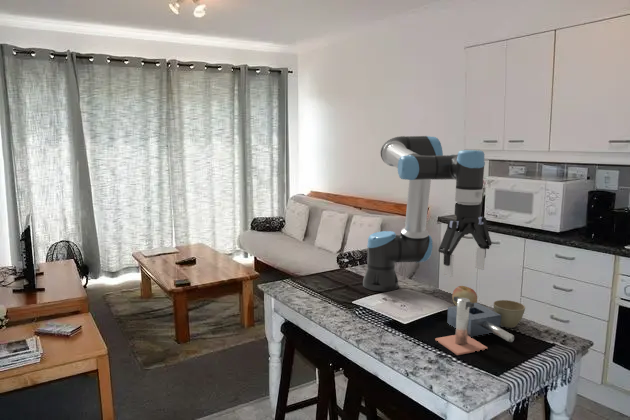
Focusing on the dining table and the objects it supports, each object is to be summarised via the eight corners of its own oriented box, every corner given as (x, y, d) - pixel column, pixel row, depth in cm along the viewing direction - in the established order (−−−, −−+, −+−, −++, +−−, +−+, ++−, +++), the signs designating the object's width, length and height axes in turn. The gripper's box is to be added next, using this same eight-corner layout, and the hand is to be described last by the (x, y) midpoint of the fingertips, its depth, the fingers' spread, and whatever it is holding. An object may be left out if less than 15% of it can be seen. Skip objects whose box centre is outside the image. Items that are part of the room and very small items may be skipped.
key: (465, 348, 139) (468, 304, 137) (448, 339, 145) (450, 297, 143) (474, 346, 141) (476, 302, 139) (456, 337, 147) (459, 295, 145)
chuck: (447, 323, 159) (447, 307, 158) (475, 318, 163) (476, 302, 162) (494, 352, 138) (495, 333, 137) (525, 346, 142) (527, 327, 141)
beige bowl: (527, 331, 153) (528, 311, 151) (495, 329, 154) (496, 309, 153) (520, 320, 162) (521, 300, 161) (490, 318, 164) (491, 298, 163)
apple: (453, 302, 179) (454, 282, 178) (477, 306, 176) (479, 286, 174) (449, 310, 172) (451, 289, 170) (475, 314, 168) (476, 293, 167)
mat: (435, 340, 146) (435, 338, 146) (463, 334, 150) (463, 333, 150) (457, 355, 136) (457, 353, 136) (487, 349, 140) (487, 347, 140)
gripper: (447, 208, 127) (443, 282, 130) (506, 201, 139) (502, 269, 143) (428, 204, 133) (425, 275, 137) (486, 198, 146) (482, 263, 149)
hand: (464, 272), depth 140 cm, fingers open, 13 cm apart
